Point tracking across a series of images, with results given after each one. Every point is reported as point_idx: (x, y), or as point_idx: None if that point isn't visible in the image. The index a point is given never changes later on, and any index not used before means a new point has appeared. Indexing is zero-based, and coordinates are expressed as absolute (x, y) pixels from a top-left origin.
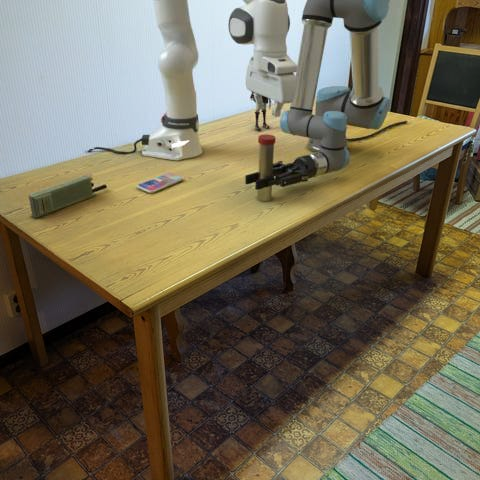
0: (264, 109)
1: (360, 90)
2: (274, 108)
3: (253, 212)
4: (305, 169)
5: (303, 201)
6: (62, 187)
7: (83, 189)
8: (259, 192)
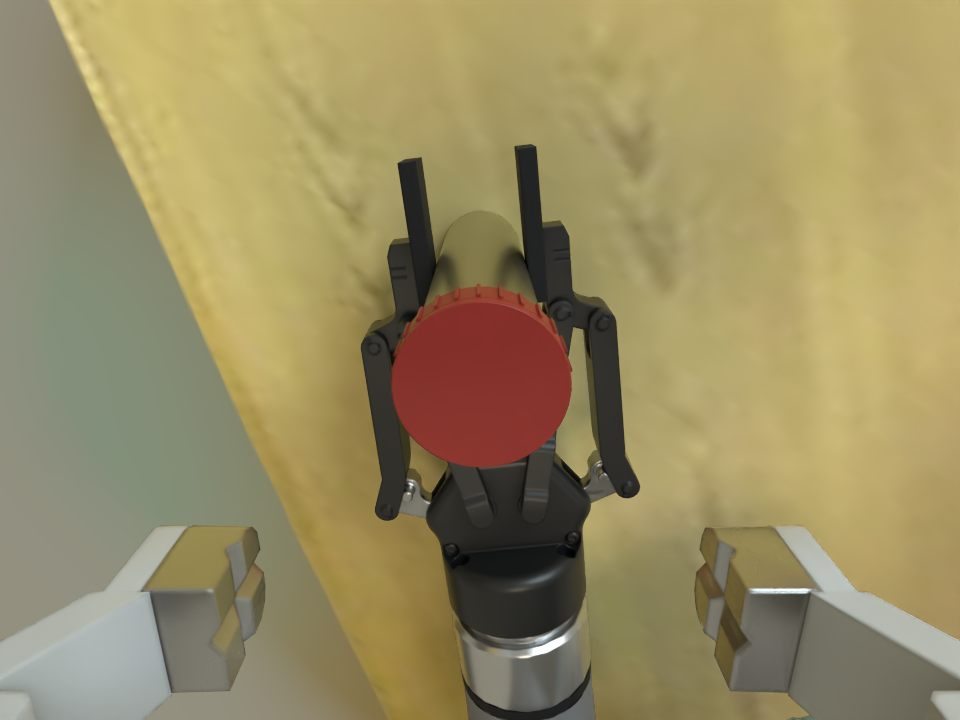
0: None
1: None
2: (100, 616)
3: (351, 94)
4: (445, 539)
5: (360, 405)
6: None
7: None
8: (476, 217)
